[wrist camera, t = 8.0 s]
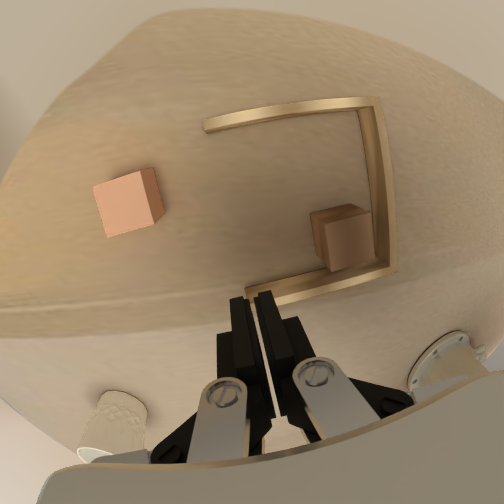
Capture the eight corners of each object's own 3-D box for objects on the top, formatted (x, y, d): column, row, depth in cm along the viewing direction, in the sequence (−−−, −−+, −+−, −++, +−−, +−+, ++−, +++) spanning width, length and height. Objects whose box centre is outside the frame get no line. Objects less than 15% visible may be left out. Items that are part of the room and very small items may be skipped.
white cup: (149, 393, 30) (136, 459, 20) (153, 426, 32) (144, 483, 23) (92, 380, 29) (68, 439, 19) (102, 415, 31) (86, 468, 22)
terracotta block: (153, 167, 21) (139, 170, 18) (165, 212, 23) (154, 224, 19) (111, 180, 21) (92, 187, 18) (123, 224, 23) (107, 237, 19)
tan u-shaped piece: (362, 101, 21) (379, 96, 18) (381, 260, 26) (396, 271, 23) (205, 124, 21) (202, 119, 18) (246, 295, 26) (249, 312, 23)
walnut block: (349, 203, 24) (370, 212, 20) (355, 243, 26) (374, 258, 22) (309, 213, 24) (324, 224, 20) (316, 254, 25) (331, 271, 22)
